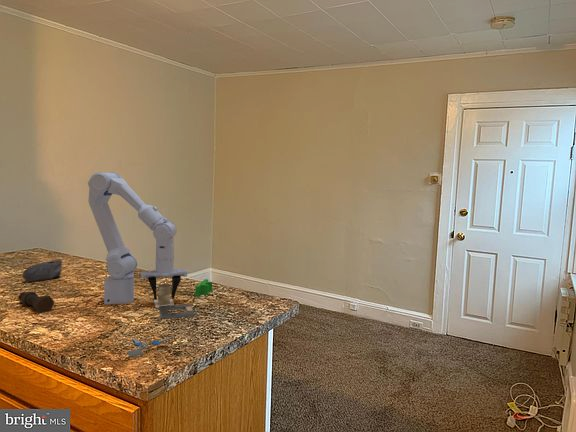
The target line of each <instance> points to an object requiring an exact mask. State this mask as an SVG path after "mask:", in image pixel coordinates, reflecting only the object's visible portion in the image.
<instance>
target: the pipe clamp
mask: <svg viewBox="0 0 576 432" xmlns="http://www.w3.org/2000/svg"><path fill="white" fill-rule="evenodd" d="M194 291H195V293H194V295H195V296H194V297H195V298H196V297H200V296H201V295H205V296H208V295H209V294H210V293H211V292H213V281H209V279H208V278H206V279H204V280H202V281H201V282H200V283H198V285H196V286H195V289H194ZM209 292H210V293H209Z"/></svg>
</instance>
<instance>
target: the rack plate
mask: <svg viewBox="0 0 576 432" xmlns="http://www.w3.org/2000/svg"><path fill="white" fill-rule="evenodd" d="M158 309H159V314H160V318H161V319H163V320H164V319H166V320H167V319H175V318H177V319H178V318H188V317H196V313H195V310H194V308H193V306H192V304H191V303H184V304H182V303H181V304H174V305H167V306H159V307H158ZM171 310H184V312H183V311H182V312H170V313H169V311H171Z"/></svg>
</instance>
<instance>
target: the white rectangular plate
mask: <svg viewBox="0 0 576 432" xmlns="http://www.w3.org/2000/svg"><path fill="white" fill-rule="evenodd" d="M153 302H154V306H155V309H156V308H159V306H167V305H175V303H174V299H172V298H170V304H167V305H159V303H158V299H157V300H153Z"/></svg>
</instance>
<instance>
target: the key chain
mask: <svg viewBox="0 0 576 432" xmlns="http://www.w3.org/2000/svg"><path fill="white" fill-rule="evenodd" d="M170 339H172V336H169V337H165V338H162V339H160V340H156V339H155V340H152V341H151V345H148V344H150V342H148V343H147V342H145V341H143V342H142V341H141V342H140V341H139V340H138V339H137V338H136V337H135V338H134V337H133V338H132V341H133V342H134V344H133V345H134V346H138V347H139V348H137V349H133V350H128V351H126V352H127V354H128V356H129V357H137V356H138V357H139V356H142V355H144V352H143V350H145V349H147V348H149V347H152V346H159V345H161V343H162V342H165V341H167V340H170Z"/></svg>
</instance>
